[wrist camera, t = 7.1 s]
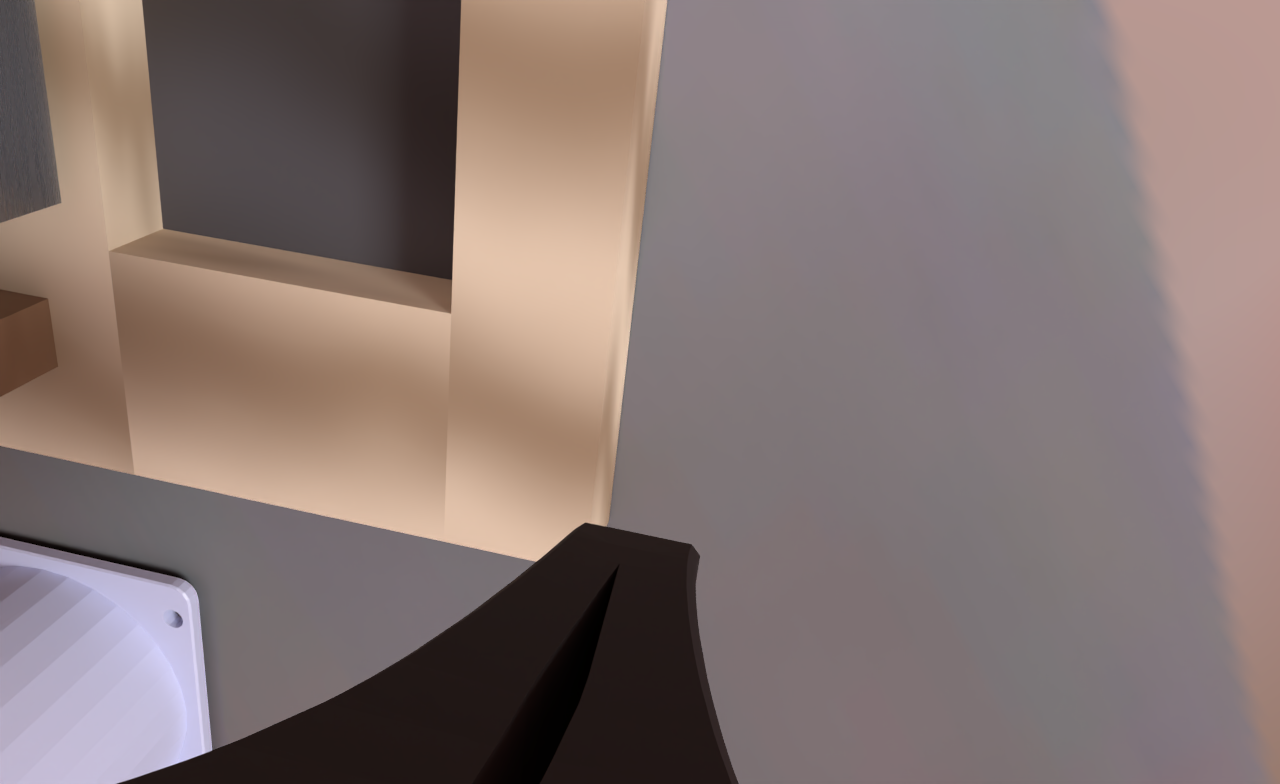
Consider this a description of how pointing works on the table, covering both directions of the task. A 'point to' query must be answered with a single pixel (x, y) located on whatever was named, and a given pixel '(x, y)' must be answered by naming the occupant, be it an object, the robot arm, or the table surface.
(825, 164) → the table surface
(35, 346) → the tunnel
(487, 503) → the deck
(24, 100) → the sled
